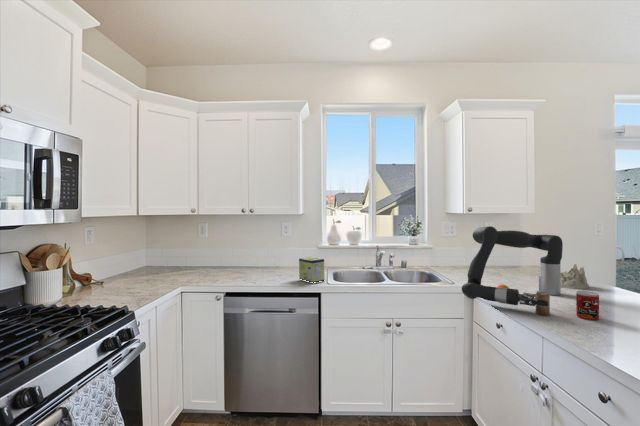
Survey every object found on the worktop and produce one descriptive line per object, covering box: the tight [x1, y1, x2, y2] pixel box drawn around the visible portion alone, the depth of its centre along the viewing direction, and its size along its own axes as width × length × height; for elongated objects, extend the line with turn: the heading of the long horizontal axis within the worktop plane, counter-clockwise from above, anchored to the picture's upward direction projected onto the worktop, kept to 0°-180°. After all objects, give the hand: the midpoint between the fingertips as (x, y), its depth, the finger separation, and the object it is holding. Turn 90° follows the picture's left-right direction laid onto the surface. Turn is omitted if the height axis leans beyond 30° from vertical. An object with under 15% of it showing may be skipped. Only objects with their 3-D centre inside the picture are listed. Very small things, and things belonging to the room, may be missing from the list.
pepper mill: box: [535, 290, 551, 317], centre depth 145 cm, size 5×5×10 cm
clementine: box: [496, 283, 510, 288], centre depth 174 cm, size 8×7×7 cm
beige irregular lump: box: [561, 263, 590, 290], centre depth 197 cm, size 16×16×15 cm
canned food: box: [575, 290, 600, 321], centre depth 140 cm, size 8×8×11 cm
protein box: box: [298, 256, 326, 283], centre depth 219 cm, size 10×16×16 cm
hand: (548, 301), depth 143 cm, fingers open, 7 cm apart
